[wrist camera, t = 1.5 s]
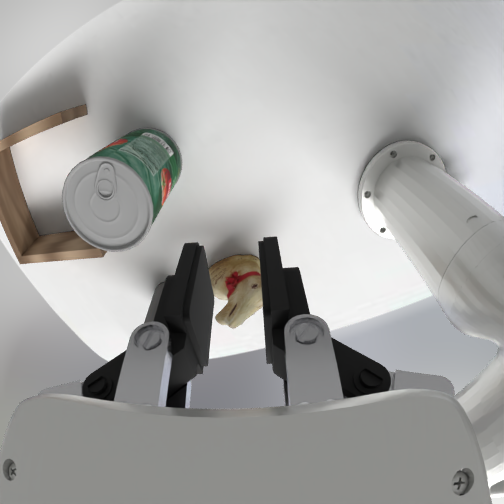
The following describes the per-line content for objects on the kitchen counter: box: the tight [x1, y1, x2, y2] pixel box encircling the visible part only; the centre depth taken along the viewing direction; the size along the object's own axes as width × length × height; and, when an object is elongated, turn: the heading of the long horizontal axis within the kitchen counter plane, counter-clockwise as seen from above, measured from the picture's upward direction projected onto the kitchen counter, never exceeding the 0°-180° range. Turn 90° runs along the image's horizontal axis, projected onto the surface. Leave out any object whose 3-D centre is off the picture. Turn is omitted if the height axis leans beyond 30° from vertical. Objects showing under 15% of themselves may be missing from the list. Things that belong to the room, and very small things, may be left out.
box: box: [0, 104, 107, 264], centre depth 26 cm, size 15×16×5 cm
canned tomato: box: [62, 128, 182, 252], centre depth 23 cm, size 8×8×11 cm
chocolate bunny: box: [209, 255, 263, 329], centre depth 32 cm, size 6×8×10 cm
